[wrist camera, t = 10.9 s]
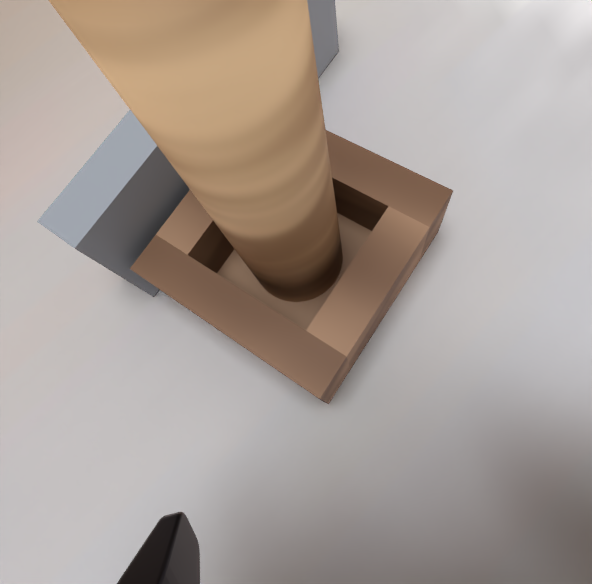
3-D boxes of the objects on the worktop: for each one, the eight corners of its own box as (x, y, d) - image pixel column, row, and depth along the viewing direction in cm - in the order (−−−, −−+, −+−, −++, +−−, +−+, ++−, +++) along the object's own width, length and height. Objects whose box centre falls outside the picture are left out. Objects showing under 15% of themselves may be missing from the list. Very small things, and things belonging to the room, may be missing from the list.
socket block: (329, 404, 19) (319, 398, 15) (171, 297, 21) (129, 268, 17) (436, 234, 20) (453, 190, 16) (277, 153, 23) (259, 98, 19)
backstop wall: (153, 296, 21) (74, 248, 15) (124, 275, 21) (37, 221, 16) (338, 50, 23) (329, -69, 18) (307, 38, 24) (289, -83, 18)
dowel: (348, 295, 19) (304, -10, 6) (257, 307, 19) (19, 51, 6) (337, 211, 20) (280, -202, 7) (251, 224, 21) (43, -139, 7)
